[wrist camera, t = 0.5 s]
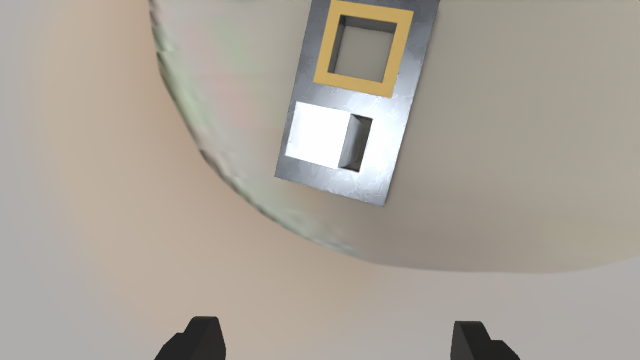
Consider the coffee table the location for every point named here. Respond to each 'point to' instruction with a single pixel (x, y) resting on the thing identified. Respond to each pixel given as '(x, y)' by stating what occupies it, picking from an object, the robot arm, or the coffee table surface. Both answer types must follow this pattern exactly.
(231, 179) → the coffee table surface
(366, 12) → the plate with square holes
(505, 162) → the coffee table surface
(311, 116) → the brushed steel peg
